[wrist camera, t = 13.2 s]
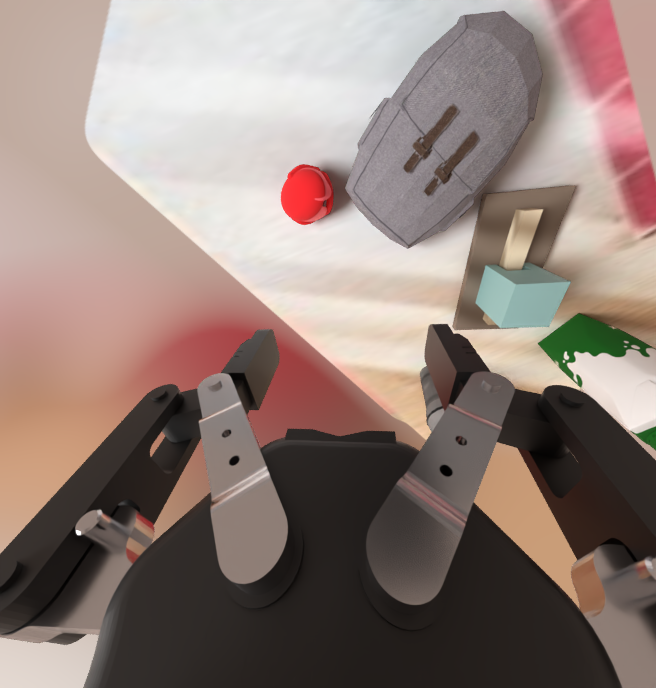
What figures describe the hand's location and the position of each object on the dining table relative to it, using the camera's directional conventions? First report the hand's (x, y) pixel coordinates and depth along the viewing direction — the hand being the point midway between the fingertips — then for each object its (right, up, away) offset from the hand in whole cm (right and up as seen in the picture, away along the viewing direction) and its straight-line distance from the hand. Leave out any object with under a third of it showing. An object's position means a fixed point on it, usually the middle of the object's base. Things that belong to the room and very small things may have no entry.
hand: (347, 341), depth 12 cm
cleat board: (+25, +11, +23) cm, 36 cm away
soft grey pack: (+11, +24, +17) cm, 31 cm away
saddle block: (+25, +9, +24) cm, 36 cm away
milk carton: (+41, +1, +29) cm, 50 cm away
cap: (-4, +21, +21) cm, 30 cm away
